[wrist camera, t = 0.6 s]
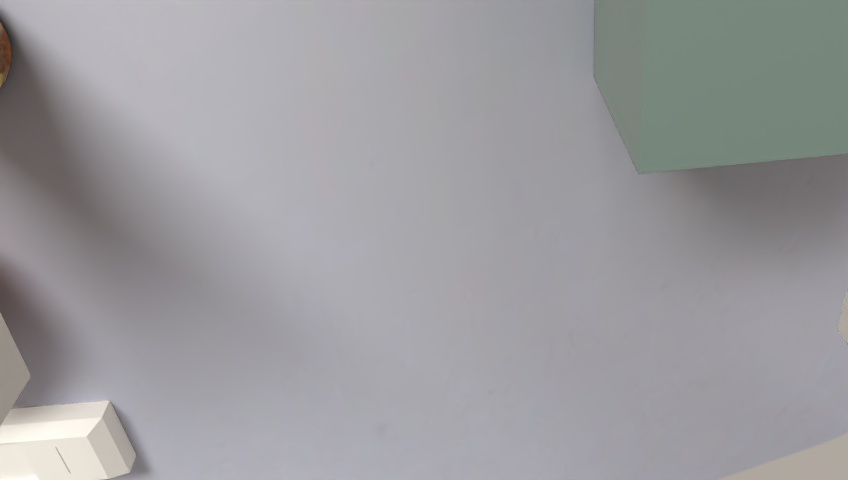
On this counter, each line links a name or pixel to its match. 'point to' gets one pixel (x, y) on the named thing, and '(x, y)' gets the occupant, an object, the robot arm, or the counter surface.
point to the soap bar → (64, 443)
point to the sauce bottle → (4, 55)
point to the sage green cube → (723, 79)
